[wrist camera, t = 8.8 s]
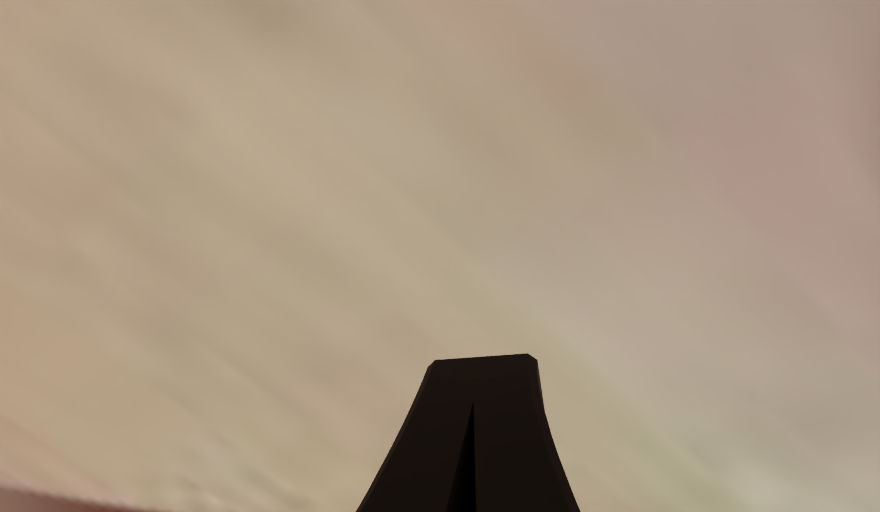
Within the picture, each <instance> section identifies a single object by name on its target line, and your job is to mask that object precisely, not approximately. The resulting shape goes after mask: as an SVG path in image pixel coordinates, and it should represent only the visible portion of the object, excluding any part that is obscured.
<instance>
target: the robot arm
mask: <svg viewBox="0 0 880 512" xmlns="http://www.w3.org/2000/svg"><path fill="white" fill-rule="evenodd" d="M356 512H580V510H579V507H578V505H577V503H576V500H575V498H574V495H573V493H572V490H571V487H570V485H569V482H568V480H567V477H566V474H565V472H564V469H563V467H562V464H561V461H560V459H559V456H558V453H557V450H556V447H555V444H554V441H553V438H552V435H551V432H550V428H549V425H548V421H547V418H546V415H545V411H544V404H543V397H542V390H541V383H540V376H539V369H538V362H537V359H535V358H534V357H532V356H531V355H529V354H514V355H501V356H487V357H473V358H459V359H445V360H435V361H434V362H433V363H432V364H431V365H430V366H429V367H428V368H427V371H426V373H425V376H424V378H423V381H422V383H421V386H420V388H419V390H418V392H417V395H416V397H415V399H414V401H413V404H412V406H411V408H410V410H409V412H408V414H407V417H406V419H405V421H404V423H403V425H402V427H401V429H400V431H399V433H398V435H397V437H396V439H395V441H394V443H393V445H392V447H391V449H390V451H389V453H388V455H387V456H386V458H385V460H384V462H383V464H382V466H381V468H380V469H379V471H378V473H377V475H376V477H375V479H374V481H373V482H372V484H371V486H370V488H369V490H368V492H367V493H366V495H365V497H364V499H363V501H362V502H361V504H360V506H359V507H358V509H357V511H356Z"/></svg>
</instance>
